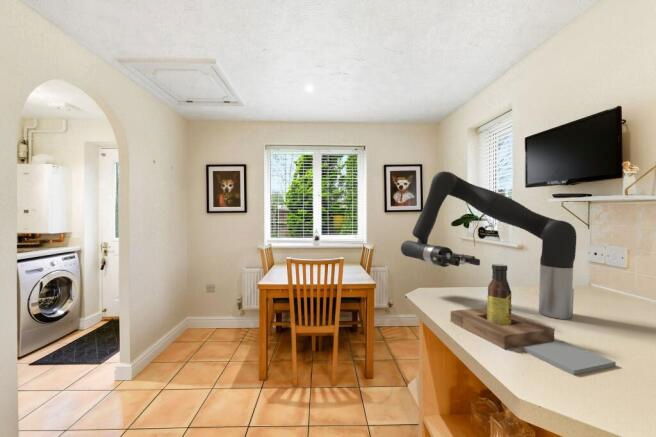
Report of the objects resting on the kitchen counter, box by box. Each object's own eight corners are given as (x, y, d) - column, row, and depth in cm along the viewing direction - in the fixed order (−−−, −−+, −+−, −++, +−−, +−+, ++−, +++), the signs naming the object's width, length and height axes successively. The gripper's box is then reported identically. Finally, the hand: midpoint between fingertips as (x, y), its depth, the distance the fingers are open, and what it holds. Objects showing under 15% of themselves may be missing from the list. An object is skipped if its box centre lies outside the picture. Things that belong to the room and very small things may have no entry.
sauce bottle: (514, 336, 86) (516, 267, 86) (490, 334, 88) (492, 266, 87) (505, 327, 93) (507, 263, 92) (483, 325, 94) (485, 262, 94)
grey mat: (561, 344, 81) (561, 340, 81) (615, 366, 70) (615, 361, 70) (522, 350, 77) (522, 346, 77) (573, 375, 66) (573, 370, 66)
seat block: (494, 316, 102) (494, 306, 102) (554, 341, 83) (554, 328, 83) (450, 321, 97) (450, 311, 97) (504, 349, 78) (504, 335, 78)
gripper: (422, 245, 114) (452, 251, 99) (453, 245, 119) (486, 251, 103) (421, 265, 115) (451, 274, 99) (452, 264, 119) (485, 273, 104)
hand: (469, 262), depth 101 cm, fingers open, 8 cm apart
